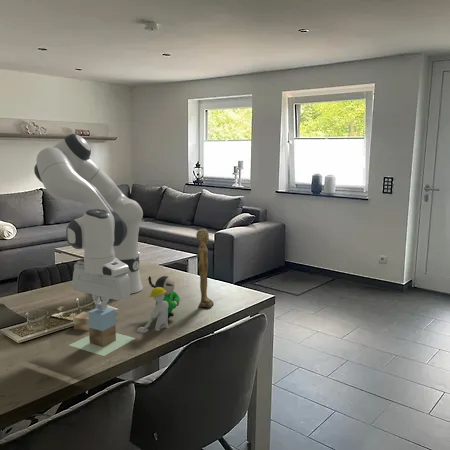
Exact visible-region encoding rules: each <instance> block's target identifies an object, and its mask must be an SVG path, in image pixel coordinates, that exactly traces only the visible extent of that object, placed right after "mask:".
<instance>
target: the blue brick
mask: <svg viewBox="0 0 450 450" xmlns="http://www.w3.org/2000/svg"><path fill="white" fill-rule="evenodd" d="M87 312H88V318H89V328H93V329H96V330H100V331H104V330H106V329H108V328H110V327H112V326H114V325H116V309H115V308H111V307H107V309H106V310H100V309H96V308H93V309H90V310H88V311H87Z"/></svg>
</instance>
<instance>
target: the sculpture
mask: <svg viewBox="0 0 450 450" xmlns="http://www.w3.org/2000/svg"><path fill="white" fill-rule="evenodd" d="M195 236H196V238H197V240H198V241H199V242H200V243H199V246H198V250H197V251H198V256H199V261H198V265H197V268H198V271H199V278H200V280H199V288H200V294H201V295H200V296H201V297H200V302H199V304H198V307H200V308H211V307H212V306H213V305H214V304H215V303H214V301H213V300H212V299H210V298H209V297H208V294H207V293H208V292H207V290H208V272H209V270H208V269H209V259H208V258H209V257H208V253H209V249H208V247H207V244H209V242H210V238H209V230H208V229H206V228H200V229H198V230H197V231H196V234H195Z"/></svg>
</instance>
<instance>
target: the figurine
mask: <svg viewBox="0 0 450 450" xmlns="http://www.w3.org/2000/svg"><path fill="white" fill-rule="evenodd" d="M165 292H166V290H165V289H164V288H162V287H156V288H154V287H153V289H152V291H151V292H150V295H148V298H153V299H154V301H155V302H156V301H157V304H156V303H155V306H156V307H154V309H153V311H152V313H151V314H150V318H149V320H148V321H147V323H146V324H145V325H144V326H141V327H138V328H137V330H136V332H137V333H140V334H141V333H142V334H143V333H147V332H149V331H150V330H149V327H150V325H151V324H152V322H153V320H154V319H156V323H155V326H154V331H156V332H159V331H161V330H160V329H161V326H163V327H164V328H165V329H169V328H170V327H169V322H168V321H169V317H168V302H167V301H163V299H164V296H165Z"/></svg>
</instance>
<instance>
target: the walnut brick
mask: <svg viewBox="0 0 450 450" xmlns="http://www.w3.org/2000/svg"><path fill="white" fill-rule="evenodd" d="M116 326H117V325H116V324H115V325H114V326H112V327H110V328H108V329H106V330H104V331H100V330H96V329H93V328H89V331H88V334H89V335H88V336H89V340H90V343H91V344H95V345H98V346H101V347H104V346H106V345H108V344H110V343H112V342H114V341H116V333H117V330H116Z"/></svg>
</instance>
